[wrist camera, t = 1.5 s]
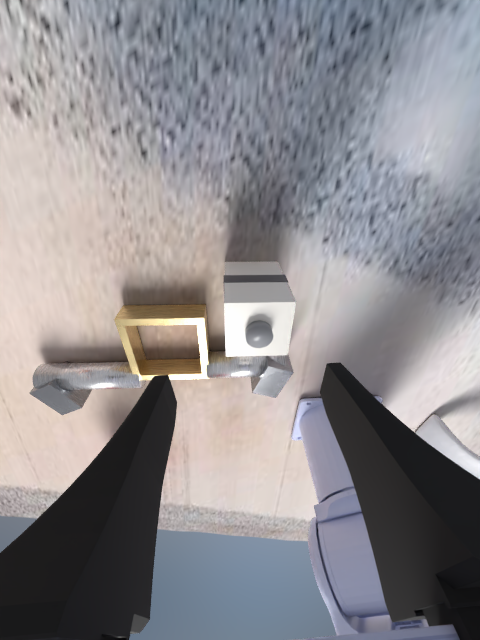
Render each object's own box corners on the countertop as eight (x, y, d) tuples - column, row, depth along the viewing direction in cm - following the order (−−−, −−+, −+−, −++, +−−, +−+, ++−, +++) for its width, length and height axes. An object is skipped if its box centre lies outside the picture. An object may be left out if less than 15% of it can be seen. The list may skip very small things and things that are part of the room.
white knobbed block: (278, 260, 19) (299, 306, 13) (273, 307, 21) (290, 362, 16) (224, 261, 18) (223, 308, 13) (225, 307, 21) (224, 364, 15)
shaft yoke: (294, 303, 21) (303, 322, 18) (281, 385, 27) (286, 407, 24) (10, 307, 20) (-19, 328, 18) (61, 391, 26) (45, 415, 23)
